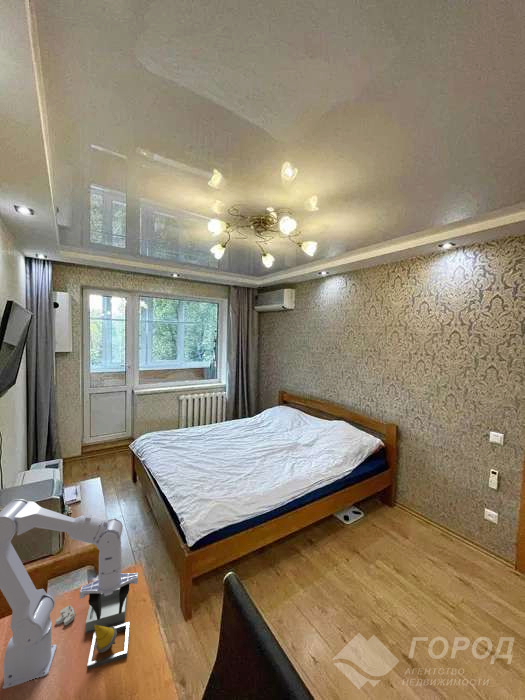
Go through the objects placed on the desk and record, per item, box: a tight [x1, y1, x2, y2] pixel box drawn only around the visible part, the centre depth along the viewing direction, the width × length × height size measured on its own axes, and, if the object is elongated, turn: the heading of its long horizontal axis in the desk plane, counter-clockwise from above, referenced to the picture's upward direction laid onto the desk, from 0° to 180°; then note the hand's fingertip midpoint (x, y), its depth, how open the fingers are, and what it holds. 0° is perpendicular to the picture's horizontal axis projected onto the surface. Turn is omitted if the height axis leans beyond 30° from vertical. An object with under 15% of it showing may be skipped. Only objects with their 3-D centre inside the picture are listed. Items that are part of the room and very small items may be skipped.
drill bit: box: [94, 625, 118, 654], centre depth 82 cm, size 5×5×10 cm
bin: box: [84, 588, 128, 634], centre depth 93 cm, size 11×11×4 cm
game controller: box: [55, 603, 90, 626], centre depth 94 cm, size 6×12×3 cm, turn 155°
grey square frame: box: [86, 621, 130, 671], centre depth 83 cm, size 10×10×2 cm
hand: (110, 613), depth 83 cm, fingers open, 5 cm apart
